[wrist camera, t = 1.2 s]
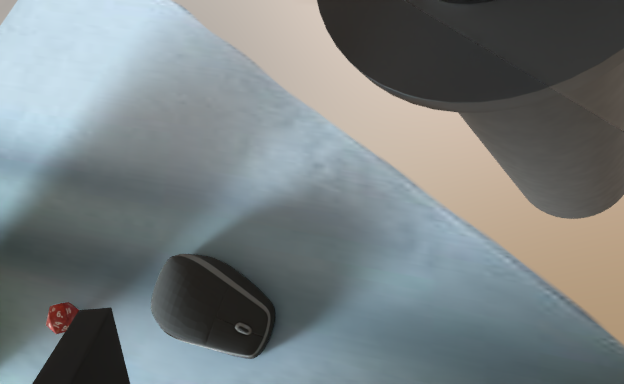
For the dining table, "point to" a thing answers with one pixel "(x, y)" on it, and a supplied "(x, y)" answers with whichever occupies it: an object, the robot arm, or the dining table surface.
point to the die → (61, 317)
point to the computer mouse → (212, 306)
